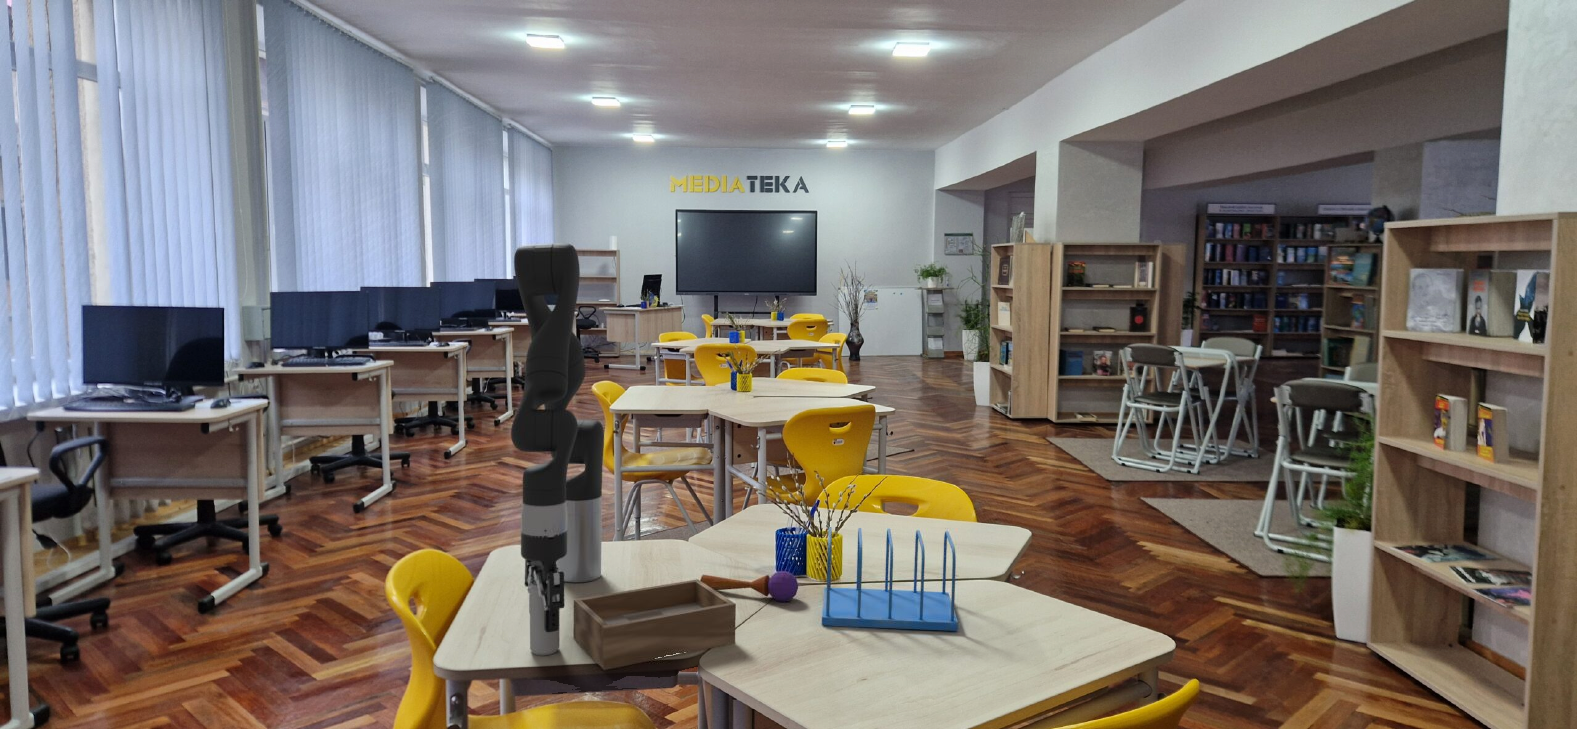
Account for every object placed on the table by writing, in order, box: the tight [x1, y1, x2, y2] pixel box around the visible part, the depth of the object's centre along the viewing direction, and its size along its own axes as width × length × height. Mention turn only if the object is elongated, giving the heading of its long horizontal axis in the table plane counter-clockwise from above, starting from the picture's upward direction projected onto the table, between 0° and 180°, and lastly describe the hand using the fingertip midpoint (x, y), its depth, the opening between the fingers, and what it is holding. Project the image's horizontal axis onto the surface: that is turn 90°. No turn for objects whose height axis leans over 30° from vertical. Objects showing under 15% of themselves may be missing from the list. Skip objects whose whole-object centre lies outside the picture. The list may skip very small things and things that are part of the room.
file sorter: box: [821, 526, 959, 632], centre depth 180 cm, size 25×17×15 cm
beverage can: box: [529, 580, 561, 657], centre depth 157 cm, size 5×5×12 cm
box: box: [572, 578, 737, 671], centre depth 163 cm, size 15×24×7 cm, turn 122°
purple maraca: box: [700, 570, 799, 603], centre depth 188 cm, size 6×6×20 cm
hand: (543, 622), depth 157 cm, fingers open, 8 cm apart
